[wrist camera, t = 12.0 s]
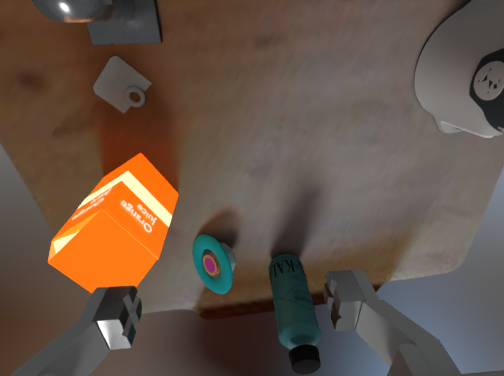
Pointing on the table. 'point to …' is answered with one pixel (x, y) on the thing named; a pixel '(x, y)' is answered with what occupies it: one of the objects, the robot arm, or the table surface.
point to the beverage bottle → (295, 313)
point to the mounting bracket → (121, 85)
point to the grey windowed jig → (108, 19)
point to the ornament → (214, 263)
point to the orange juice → (116, 228)
